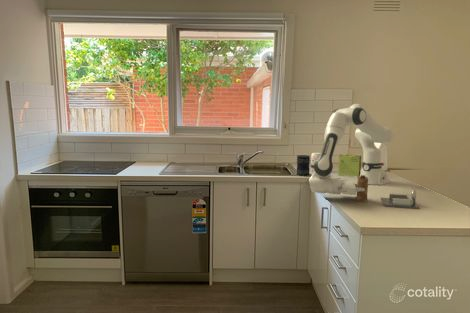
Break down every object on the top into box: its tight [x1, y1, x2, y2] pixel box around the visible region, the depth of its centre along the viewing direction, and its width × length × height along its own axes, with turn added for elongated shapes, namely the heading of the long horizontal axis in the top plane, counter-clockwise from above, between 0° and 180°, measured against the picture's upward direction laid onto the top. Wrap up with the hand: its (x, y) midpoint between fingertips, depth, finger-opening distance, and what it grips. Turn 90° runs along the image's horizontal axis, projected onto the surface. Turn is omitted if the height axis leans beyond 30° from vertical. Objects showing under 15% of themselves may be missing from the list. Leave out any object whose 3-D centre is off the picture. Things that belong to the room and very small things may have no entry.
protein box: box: [337, 153, 362, 178], centre depth 244 cm, size 10×15×16 cm
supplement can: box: [310, 152, 321, 172], centre depth 260 cm, size 8×8×15 cm
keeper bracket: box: [380, 189, 420, 210], centre depth 169 cm, size 16×14×8 cm
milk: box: [374, 142, 388, 172], centre depth 264 cm, size 12×12×26 cm
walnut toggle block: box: [356, 175, 369, 203], centre depth 175 cm, size 5×5×14 cm
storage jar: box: [296, 154, 311, 177], centre depth 245 cm, size 10×10×15 cm
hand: (363, 188), depth 174 cm, fingers closed on walnut toggle block, 5 cm apart
